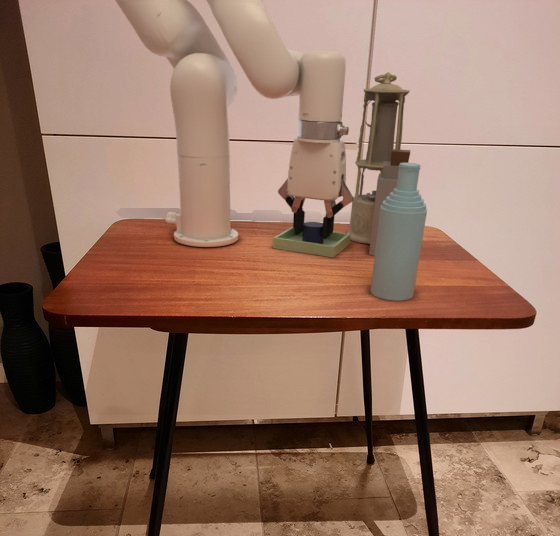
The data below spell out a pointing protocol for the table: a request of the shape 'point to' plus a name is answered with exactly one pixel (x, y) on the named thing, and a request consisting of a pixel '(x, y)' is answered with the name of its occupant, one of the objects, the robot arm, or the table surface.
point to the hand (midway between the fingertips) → (312, 233)
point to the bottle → (399, 238)
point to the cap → (312, 232)
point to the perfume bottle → (386, 188)
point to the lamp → (376, 148)
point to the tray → (295, 243)
